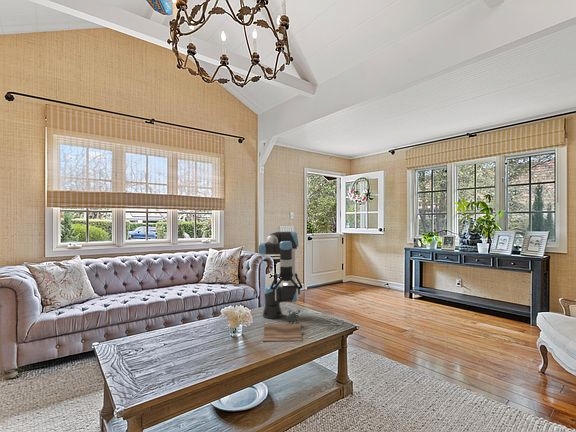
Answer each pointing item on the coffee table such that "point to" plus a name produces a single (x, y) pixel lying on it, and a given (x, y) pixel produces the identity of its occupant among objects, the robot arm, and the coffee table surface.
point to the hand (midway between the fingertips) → (286, 299)
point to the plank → (282, 329)
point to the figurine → (293, 317)
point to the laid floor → (282, 338)
